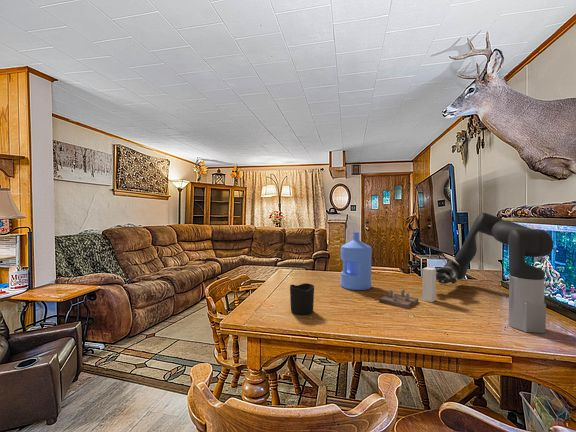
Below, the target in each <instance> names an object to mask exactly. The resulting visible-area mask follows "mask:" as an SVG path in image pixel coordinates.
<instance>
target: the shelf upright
mask: <svg viewBox="0 0 576 432" xmlns="http://www.w3.org/2000/svg"><path fill="white" fill-rule="evenodd" d="M436 270H437V268H436V267H428V266H426V267H424V268H422V272H421V279H422V282H421V284H422V286H421V287H422V289H421V292H422V293H421V301H424V302H428V303H433V302H435V301H436V300H437V299H436V297H437V295H436V294H437V292H436V291H437V281H436Z"/></svg>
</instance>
